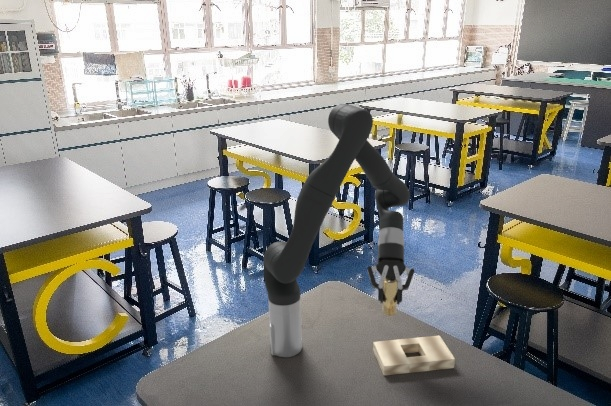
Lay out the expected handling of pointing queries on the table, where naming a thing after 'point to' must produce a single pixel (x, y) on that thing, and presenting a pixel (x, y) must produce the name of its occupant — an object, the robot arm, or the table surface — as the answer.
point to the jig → (397, 362)
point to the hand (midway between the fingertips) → (390, 303)
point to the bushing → (389, 296)
